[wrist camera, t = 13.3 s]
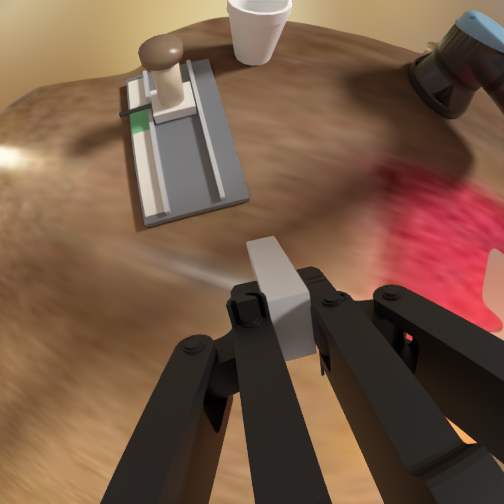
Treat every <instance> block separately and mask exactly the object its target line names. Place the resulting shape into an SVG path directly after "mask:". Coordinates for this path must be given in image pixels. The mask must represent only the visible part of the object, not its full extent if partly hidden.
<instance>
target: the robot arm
mask: <svg viewBox="0 0 504 504" xmlns="http://www.w3.org/2000/svg"><path fill="white" fill-rule="evenodd" d="M408 74H409V79H410V81H411V83H412V85H413V87H414V89H415V90H416V92H417V93H418V94H419V96H420V97H421V98H422V99H423V100H424V101H425V102H426V103H427V104H428V105H429V106H430V107H431V108H432V109H434V110H435V111H436V112H438V113H440V114H441V115H443V116H446V117H448V118H458V117H460V116H461V115H462V114H463V113H465V112H466V110H467V108H468V106H469V104H470V102H471V100H472V98H473V96H474V94H475V92H476V91H477V90H478V89H479V88H480V87H482V88H483V89H484V90H485V91H486V92H487V94H488V95H489V96H490V97H491V98H492V100H493V101H494V102H495V104H496V105H497V106H498V108H499V109H500V110H501V112H502V113H503V114H504V29H503V28H502V27H501V26H500V25H499V24H497V23H496V22H495V21H493V20H492V19H491V18H489V17H487V16H486V15H484V14H482V13H480V12H477V11H474V10H468V11H466V12H465V13H464V14H463V15H462V16H461V17H460V18H459V19H457V20H456V21H455V24H454V26H453V27H452V28H451V29H450V31H449V32H448V33H447V34H446V36H445V37H444V38H443V39H442V40H441V42H440V43H439V44H438V45H437V47H436V48H435V49H434V50H433V51H431V52H429V53H427V54H425V55H423V56H421V57H419V58H417V59H416V60H414V62H413V63H412V64H411V65H410V67H409V70H408ZM246 244H247V249H248V253H249V258H250V262H251V267H252V271H253V276H254V280H255V281H252V282H248V283H244V284H239V285H235V286H234V287H233V289H232V291H231V298H230V299H229V300H228V301H227V304H226V307H227V310H228V314H229V317H230V320H231V324H232V330H231V331H230V332H229V333H227V334H226V335H225V336H223V337H221V338H219V339H217V340H214V341H213V340H212V338H211V337H209V336H207V335H200V334H199V335H193V336H190V337H187V338H185V339H184V340H182V341H181V342H179V343H178V345H177V346H176V347H175V349H174V351H173V353H172V355H171V357H170V359H169V361H168V363H167V365H166V367H165V369H164V371H163V373H162V375H161V377H160V379H159V381H158V383H157V385H156V387H155V389H154V391H153V393H152V395H151V397H150V399H149V401H148V403H147V405H146V407H145V409H144V411H143V413H142V416H141V418H140V420H139V422H138V424H137V426H136V428H135V430H134V432H133V434H132V436H131V438H130V440H129V442H128V445H127V447H126V449H125V451H124V453H123V455H122V457H121V459H120V461H119V464H118V466H117V468H116V470H115V472H114V474H113V476H112V479H111V481H110V483H109V485H108V487H107V490H106V492H105V494H104V496H103V498H102V501H101V503H100V504H208V503H209V499H210V495H211V491H212V487H213V483H214V479H215V474H216V470H217V466H218V462H219V458H220V453H221V449H222V445H223V441H224V436H225V432H226V428H227V424H228V419H229V415H230V411H231V406H232V402H233V394H235V393H237V392H240V398H241V406H242V414H243V421H244V429H245V436H246V444H247V451H248V458H249V465H250V472H251V479H252V485H253V492H254V498H255V504H332V502H331V499H330V496H329V493H328V490H327V487H326V484H325V481H324V478H323V475H322V472H321V469H320V466H319V463H318V460H317V457H316V454H315V451H314V448H313V445H312V442H311V439H310V436H309V433H308V430H307V427H306V424H305V421H304V418H303V415H302V412H301V408H300V405H299V402H298V399H297V396H296V393H295V390H294V387H293V384H292V381H291V378H290V375H289V372H288V369H287V366H286V363H285V361H289V360H293V359H297V358H301V357H304V356H308V355H312V354H315V353H316V345H317V347H318V349H319V355H320V365H321V375H322V376H323V375H324V370H325V373H326V375H327V377H328V379H329V381H330V383H331V386H332V388H333V390H334V392H335V394H336V396H337V399H338V401H339V403H340V405H341V407H342V410H343V412H344V414H345V416H346V418H347V421H348V423H349V425H350V427H351V429H352V432H353V434H354V436H355V438H356V440H357V443H358V445H359V447H360V449H361V452H362V454H363V456H364V458H365V461H366V463H367V465H368V467H369V470H370V472H371V474H372V476H373V479H374V481H375V483H376V486H377V488H378V490H379V492H380V495H381V497H382V499H383V502H384V504H504V472H503V471H502V470H501V468H500V466H499V465H498V464H497V462H496V461H495V459H494V458H493V457H492V455H493V456H494V457H496V458H497V459H498V460H499V461H501V462H502V463H503V464H504V341H503V340H501V339H500V338H498V337H496V336H494V335H493V334H491V333H489V332H487V331H486V330H484V329H482V328H480V327H478V326H476V325H475V324H473V323H471V322H469V321H467V320H465V319H464V318H462V317H460V316H458V315H456V314H454V313H453V312H451V311H449V310H447V309H445V308H443V307H441V306H439V305H437V304H436V303H434V302H432V301H430V300H428V299H426V298H424V297H422V296H420V295H418V294H416V293H414V292H413V291H411V290H409V289H407V288H405V287H402V286H399V285H392V284H391V285H385V286H382V287H379V288H378V289H376V290H375V291H374V293H373V300H363V301H354V300H353V299H352V298H351V296H350V295H348V294H347V293H345V292H342V291H336V289H335V288H334V287H333V286H332V284H331V283H330V282H329V281H328V280H327V278H326V277H325V276H324V274H323V273H322V272H321V271H320V270H319V269H317V268H315V267H312V266H311V267H307V268H303V269H299V270H295V268H294V267H293V265H292V263H291V262H290V260H289V259H288V257H287V256H286V254H285V252H284V251H283V249H282V248H281V246H280V245H279V243H278V241H277V240H276V238H275V237H274V236H269V237H265V238H261V239H256V240H252V241H248V242H246ZM407 333H408V334H409V335H411V336H412V337H413V339H412V341H410V340H408V339H407V338H406V334H407ZM446 417H447V418H448V419H449V420H450V421H451V422H453V423H454V424H455V425H456V426H458V427H459V428H460V429H461V430H462V431H464V432H465V433H466V434H467V435H469V436H470V437H471V438H472V439H473V440H475V441H476V442H477V443H474V444H466V443H464V442H463V441H462V440H461V438H460V437H459V436H458V434H457V433H456V431H455V430H454V429H453V427H452V426H451V424H450V423H449V422H448V420H447V419H446ZM490 453H491V454H492V455H491V454H490Z"/></svg>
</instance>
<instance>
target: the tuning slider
mask: <svg viewBox="0 0 504 504" xmlns="http://www.w3.org/2000/svg"><path fill="white" fill-rule="evenodd" d="M138 54H139V57H140V60H141V64H142V66H143V67H144V68H146V69H148V70H151V74H152V77H153V81H154V84H155V87H156V90H153V91H150V95H151V102H152V103H149V104H146V105H143V106H139V107H136V108H133V109H130V110H126V111H123V112H120V113H119V116H120V117H123V116H126V115H129V114H132V113H135V112H139V111H142V110H145V109H149V108H152V109H153V116H154V119H155V122H156V124H158V123H162V122H166V121H169V120H173V119H177V118H181V117H185V116H189V115H193V114H197V112H196V105H195V101H194V97H193V93H192V89H191V85H190V81H189V82H185V83H182V79H181V73H180V68H179V62H180V60H181V59H182V57H183V55H184V51H183V43H182V40H181V39H180V38H179V37H178V36H176V35H172V34H162V35H157V36H154V37H152V38H150V39H148V40H146V41H145V42H144V43H143V44H142V45H141V46H140V48H139V52H138Z"/></svg>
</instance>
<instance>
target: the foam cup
mask: <svg viewBox="0 0 504 504" xmlns="http://www.w3.org/2000/svg"><path fill="white" fill-rule="evenodd" d="M291 8H292V0H227V12H228V13H229V19H230V26H231V33H232V40H233V47H234V53H235V56H236V58H237V60H238V61H240V62H242V63H243V64H247V65H251V66H255V65H262V64H264V63H267V61H268V60H269V59H270V57H271V56H272V53H273V51H274V48H275V46H276V44H277V41H278V39H279V37H280V34H281V32H282V30H283V27H284V25H285V23H286V20H287V19H288V18H289V16H290V12H291Z"/></svg>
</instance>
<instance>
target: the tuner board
mask: <svg viewBox="0 0 504 504" xmlns="http://www.w3.org/2000/svg"><path fill="white" fill-rule="evenodd" d="M186 62H187V63H185V64H180V65H179V68H180V73H181V79H182V83H185V82H189V81H190V85H191V89H192V93H193V97H194V101H195V105H196V112H197V114H193V115H189V116H185V117H181V118H177V119H173V120H169V121H166V122H162V123H158V124H156V122H155V119H154V116H153V109H152V108H149V109H145V110H142V111H139V112H135V113H132V114H129V120H130V130H131V139H132V147H133V155H134V163H135V170H136V177H137V183H138V190H139V196H140V202H141V207H142V213H143V219H144V224H145V226H146V227H147V228H148V227H152V226H155V225H159V224H163V223H166V222H170V221H173V220H177V219H181V218H185V217H188V216H192V215H196V214H200V213H204V212H208V211H212V210H216V209H219V208H224V207H228V206H232V205H236V204H240V203H244V202H248V201H249V199H250V196H249V193H248V190H247V186H246V183H245V179H244V176H243V172H242V169H241V166H240V162H239V159H238V155H237V152H236V148H235V145H234V142H233V138H232V135H231V132H230V128H229V125H228V122H227V118H226V115H225V111H224V108H223V105H222V101H221V98H220V95H219V92H218V88H217V85H216V82H215V78H214V75H213V72H212V69H211V65H210V62H209V59H204V60H199V61H194V62H190V60H186ZM126 83H127V97H128V110H130V109H133V108H136V107H139V106H143V105H146V104H149V103H152V102H151V95H150V91H153V90H156V87H155V84H154V81H153V77H152V74H151V72H149V73H147V71H143V74H142V75H139V76H135V77H132V78H129V79H126Z"/></svg>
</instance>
